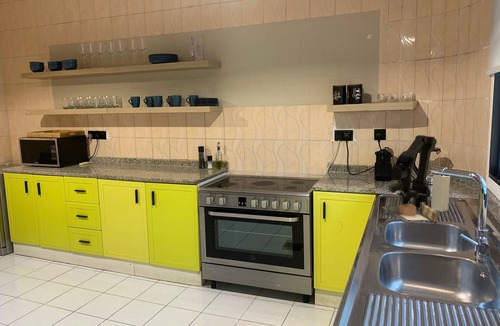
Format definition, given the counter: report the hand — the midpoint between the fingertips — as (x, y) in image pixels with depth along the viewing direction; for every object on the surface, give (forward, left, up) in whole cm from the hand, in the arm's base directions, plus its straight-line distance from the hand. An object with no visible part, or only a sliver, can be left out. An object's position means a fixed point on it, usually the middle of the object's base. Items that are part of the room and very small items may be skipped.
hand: (403, 207), depth 209 cm
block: (0, +4, -2) cm, 5 cm away
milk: (-21, -3, -3) cm, 22 cm away
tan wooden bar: (-7, +13, -2) cm, 15 cm away
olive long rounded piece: (+1, +4, -3) cm, 5 cm away
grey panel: (0, +4, -3) cm, 5 cm away
